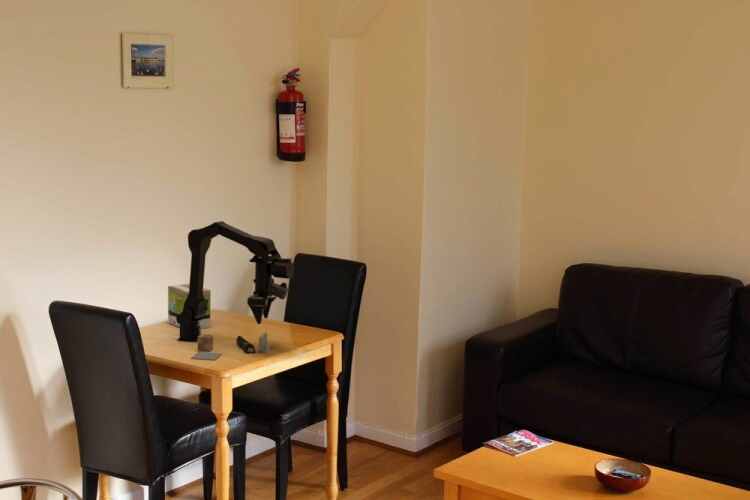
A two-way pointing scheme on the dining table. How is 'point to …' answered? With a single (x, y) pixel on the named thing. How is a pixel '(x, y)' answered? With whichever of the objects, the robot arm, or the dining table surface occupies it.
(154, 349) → the dining table surface
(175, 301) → the tea box
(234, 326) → the dining table surface
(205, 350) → the walnut block
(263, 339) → the gray angled bracket
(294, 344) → the dining table surface
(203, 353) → the pad
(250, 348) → the electric trimmer
